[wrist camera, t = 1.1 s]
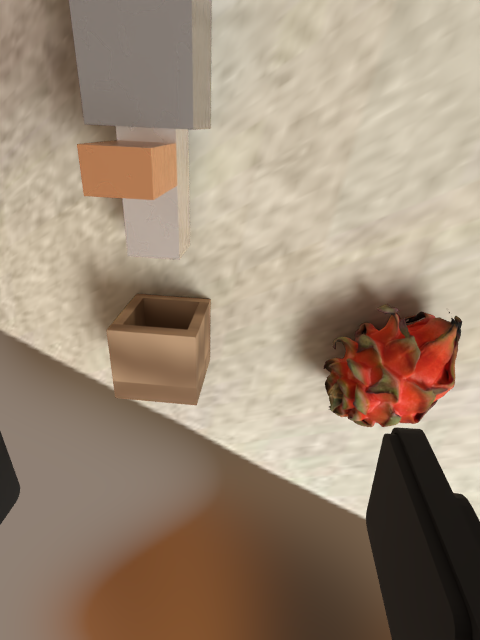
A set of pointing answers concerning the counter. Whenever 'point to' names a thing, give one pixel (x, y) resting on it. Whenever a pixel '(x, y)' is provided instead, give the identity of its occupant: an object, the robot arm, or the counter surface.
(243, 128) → the counter surface
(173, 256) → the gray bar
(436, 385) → the dragon fruit
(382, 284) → the counter surface
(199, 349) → the socket block
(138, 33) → the sleeve
